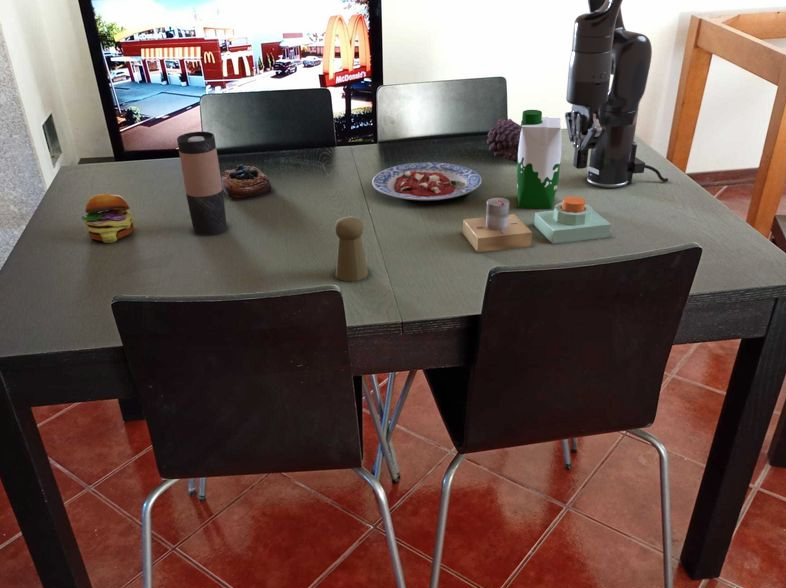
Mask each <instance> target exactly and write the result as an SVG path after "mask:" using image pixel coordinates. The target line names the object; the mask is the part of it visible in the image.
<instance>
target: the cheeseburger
mask: <svg viewBox="0 0 786 588" xmlns="http://www.w3.org/2000/svg"><path fill="white" fill-rule="evenodd" d="M130 209H131V206H130V205H129V203H128V202H127V200H125V198H124V197H122V196H121V195H119V194H109V193H100V194H96V195H92V196H90V198H89V199H88V200H87V203H86V205H85V210H84V211H85V213H86V214H85V215H83V216H81V220H82V221H83V224H84V225H86V230H88V235H89V237H90V239H93V240H95V241H99V242H103V243H106V244H113V243H115V242H117V241H118V240H119V239H123V238H124V237H127V236H128V235H130V234H131V233H132V232H134V231H135V230H134V229H135V227H134V224H135V220H134V218H133V215H132V213H131V211H128V210H130Z"/></svg>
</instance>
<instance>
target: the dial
mask: <svg viewBox="0 0 786 588" xmlns="http://www.w3.org/2000/svg"><path fill="white" fill-rule="evenodd" d="M485 209H486V211H485V217H486V227H488V228H490V229H494V230H500V229H505V228H507V227H508V217H509V215H510V200H509V199H506V198H503V197H492V198H488V199H487V200H486V208H485Z"/></svg>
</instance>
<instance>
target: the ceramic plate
mask: <svg viewBox="0 0 786 588" xmlns="http://www.w3.org/2000/svg"><path fill="white" fill-rule="evenodd" d="M482 181H483V179H482V176H481V175H480V174H479V173H478V172H476V171H475V170H473V169H471V168H469V167H466V166H463V165H460V164H454V163H453V164H452V163H445V162H412V163H404V164H400V165H396V166H392V167H389V168H386V169H383V170H382V171H380V172H378V173H377V174H375V175H374V176H373V178H372V181H371V184H372V186H373V188H374V189H375V190H376V191H377V192H379V193H381V194H383V195H386V196H387V197H388V196H389V197H392V198H395V199H401V200H410V201H426V202H427V201H441V200H447V199H448V200H449V199H455V198H458V197H462V196H465V195H467V194H470V193H472V192H474V191H476V190H477V189H478V188H479V187H480V186H481V184H482Z"/></svg>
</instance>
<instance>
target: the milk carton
mask: <svg viewBox="0 0 786 588" xmlns="http://www.w3.org/2000/svg"><path fill="white" fill-rule="evenodd" d="M520 125H521V135H520V141H519V148H518V161H517V164H516V165H517V166H516V192H517V193H516V194H517V201H518V202H517V204H518V209H519V208H520V209H543V210H544V209H547V210H551V209H553V208H552V207H553V204H554V200H555V196H556V192H557V189H558V185H559V179H560V178H559V177H560V170H561V159H562V148H563V147H562V143H563V141H562V126H561V125H562V124H561V117H549V116H543V111H542V110H539V109H525V110H522V115H521V121H520Z"/></svg>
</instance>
